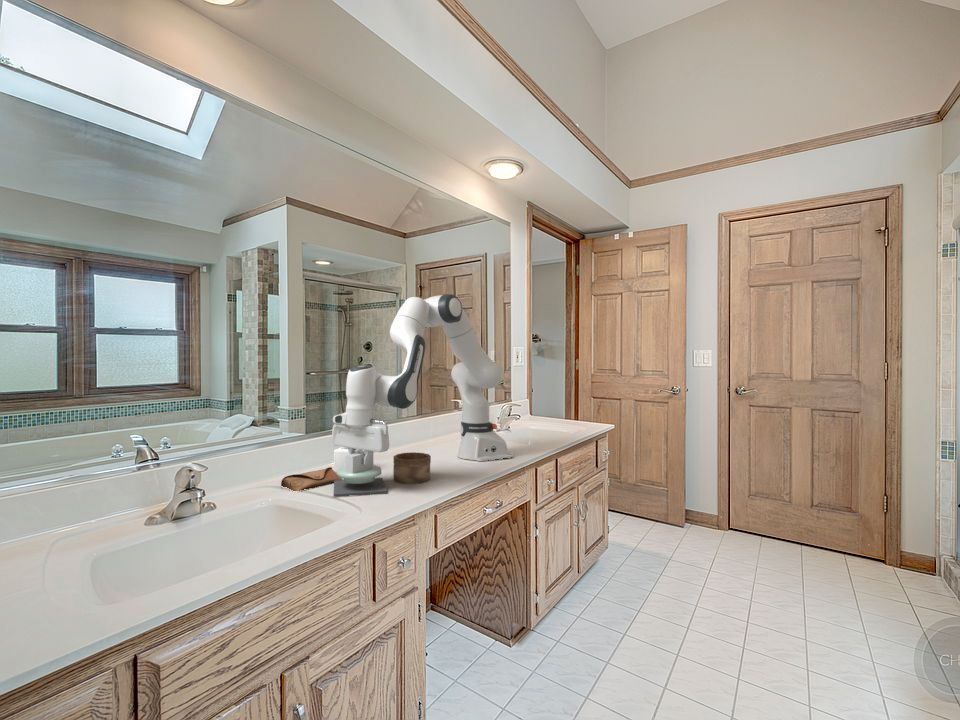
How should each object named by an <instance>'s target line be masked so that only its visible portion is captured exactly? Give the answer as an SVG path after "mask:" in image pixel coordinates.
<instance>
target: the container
mask: <svg viewBox="0 0 960 720" xmlns="http://www.w3.org/2000/svg"><path fill="white" fill-rule="evenodd" d="M338 447H339V448H336V449H334V450H333V467H332V470H334V471H335V472H336V473H337V471H338V469H340V468H343V467H346V456H347V455H350V454H349V452H348V448H347V447H340V446H338ZM363 451H364V450H360V449H356V451H355V452H356V453H359V452H363Z"/></svg>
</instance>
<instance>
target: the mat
mask: <svg viewBox="0 0 960 720" xmlns="http://www.w3.org/2000/svg"><path fill="white" fill-rule="evenodd" d="M370 494H371V495H370ZM372 494H374V495H383V494H384V495H386V494H388V490H387V487H386V484H385V481H384V478H383V477H375V480H374V481H372V482H369V483H364V484H350V483H346V482H344V479H343V480H336V481H334V483H333V497H334V496H345V497H350V496H349V495H359V496H372Z"/></svg>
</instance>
